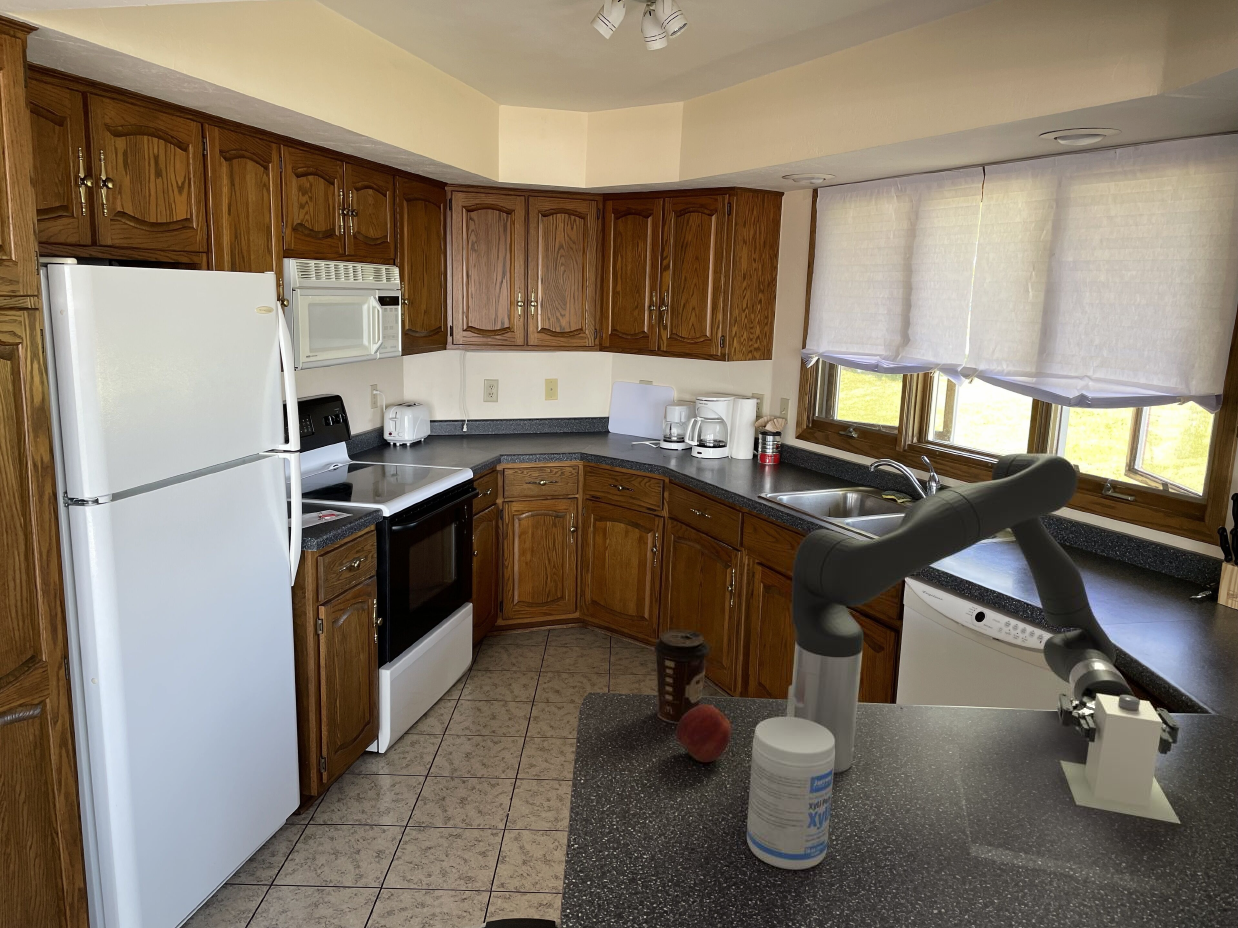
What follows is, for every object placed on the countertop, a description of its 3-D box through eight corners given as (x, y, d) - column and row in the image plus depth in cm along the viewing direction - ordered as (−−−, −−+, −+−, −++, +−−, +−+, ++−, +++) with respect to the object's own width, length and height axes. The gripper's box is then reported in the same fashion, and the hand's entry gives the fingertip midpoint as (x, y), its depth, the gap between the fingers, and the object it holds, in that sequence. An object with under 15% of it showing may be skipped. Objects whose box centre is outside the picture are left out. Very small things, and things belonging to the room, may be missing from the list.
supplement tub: (822, 881, 98) (833, 761, 95) (739, 862, 100) (747, 745, 98) (829, 833, 107) (839, 722, 104) (752, 817, 109) (760, 709, 107)
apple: (727, 775, 119) (731, 721, 118) (671, 768, 120) (674, 714, 119) (730, 748, 126) (733, 697, 125) (677, 742, 128) (680, 691, 126)
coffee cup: (706, 705, 140) (710, 629, 138) (706, 729, 132) (711, 649, 130) (652, 701, 141) (656, 625, 139) (649, 725, 133) (653, 645, 130)
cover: (1094, 796, 115) (1108, 704, 113) (1084, 773, 121) (1097, 685, 119) (1148, 806, 113) (1163, 713, 111) (1136, 782, 120) (1150, 692, 117)
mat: (1075, 811, 114) (1076, 804, 113) (1059, 766, 125) (1060, 760, 125) (1179, 830, 110) (1180, 823, 110) (1153, 782, 121) (1154, 776, 121)
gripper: (1051, 660, 131) (1072, 706, 116) (1158, 675, 127) (1194, 724, 111) (1045, 707, 132) (1065, 757, 117) (1151, 723, 128) (1185, 778, 113)
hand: (1128, 741), depth 114 cm, fingers open, 8 cm apart
